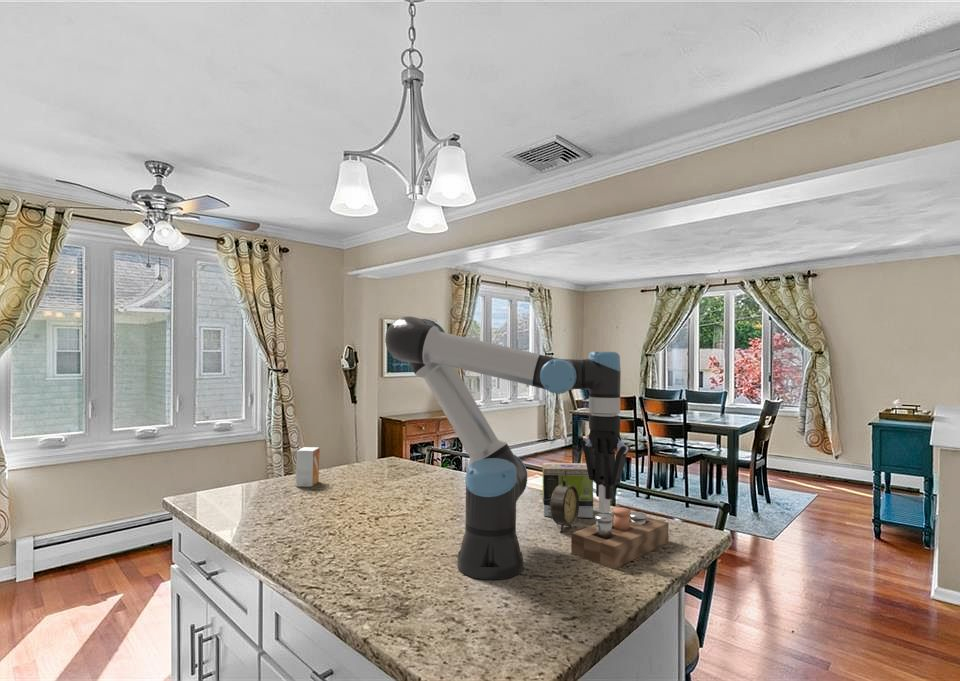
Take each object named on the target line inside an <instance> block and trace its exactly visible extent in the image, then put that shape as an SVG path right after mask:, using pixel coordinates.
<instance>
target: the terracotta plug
mask: <svg viewBox="0 0 960 681" xmlns="http://www.w3.org/2000/svg"><path fill="white" fill-rule="evenodd" d="M631 511H632V510H631V509H629V508H626V507H613V508H612V514H613V518H614V529H615V530H619V531H622V532H627V531H629V515H630V514H631Z"/></svg>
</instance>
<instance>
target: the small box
mask: <svg viewBox="0 0 960 681" xmlns="http://www.w3.org/2000/svg"><path fill="white" fill-rule="evenodd" d="M320 449H321V448H320V447H318V446H316V447H315V446H314V447H313V446H312V447H311V446H309V447H308V446H304V447H302V448H300V449H298V450H296V463H295V464H296V465H295V487H297V488H298V487H304V488H305V487H309V488H310V487H314V485H316V484H318V482H319V480H320V479H319V477H320V476H319V475H320Z"/></svg>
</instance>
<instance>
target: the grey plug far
mask: <svg viewBox="0 0 960 681" xmlns="http://www.w3.org/2000/svg"><path fill="white" fill-rule="evenodd" d="M629 517H630V522H631V523H635V524H639V525H643V524H645V520H646V519H647V517H648V515H647V514H646V513H643V512H640V511H639V512H638V511H632V512H631V514H630V515H629Z"/></svg>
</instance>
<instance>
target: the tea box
mask: <svg viewBox="0 0 960 681" xmlns="http://www.w3.org/2000/svg"><path fill="white" fill-rule="evenodd" d="M564 470H565V471H566V480H565V471H564ZM563 471H564V473H563V478H562V472H563ZM562 479H563V480H565V481H566V482H565V484H566V485H569V486H574V487H575V488H576V490H577V493H578V497H579V511H578V516H577V518H588V519H589V518H590V519H591V518H592V519H594V481H593V480H590V479H589V476H588V470H587V465H586V462H583V463H581V462H580V463H578V462H542V508H543V509H542V510H543V517H552V515H551V509H550V504H551V497H552V493H553V491H554V489H555V488H556V487H557V486H558V485H563V482H562Z"/></svg>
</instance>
